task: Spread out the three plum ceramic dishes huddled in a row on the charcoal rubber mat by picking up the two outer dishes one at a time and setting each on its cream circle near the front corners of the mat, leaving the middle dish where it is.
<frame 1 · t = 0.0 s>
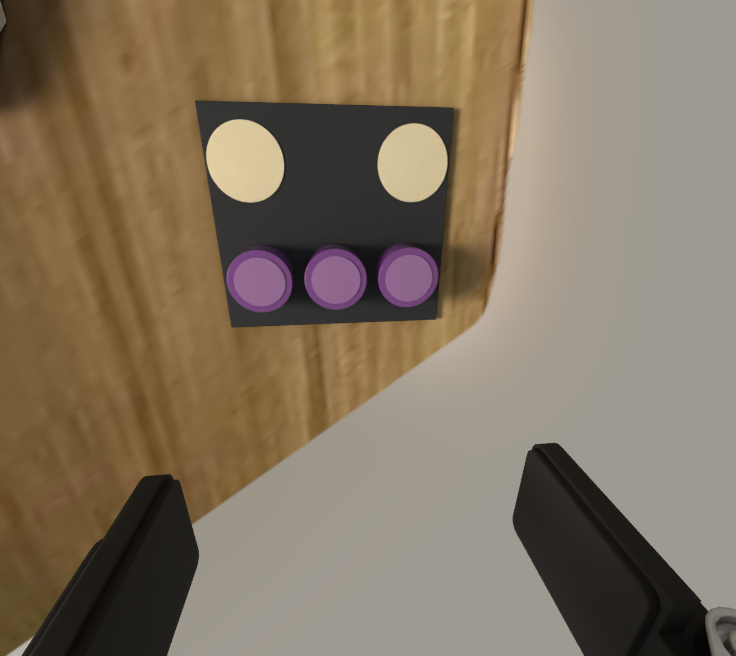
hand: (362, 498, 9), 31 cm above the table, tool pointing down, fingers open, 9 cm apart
dish c: (335, 273, 38), resting on mat
dish b: (402, 271, 39), resting on mat
dish a: (265, 274, 37), resting on mat
mat: (333, 226, 36), on the table
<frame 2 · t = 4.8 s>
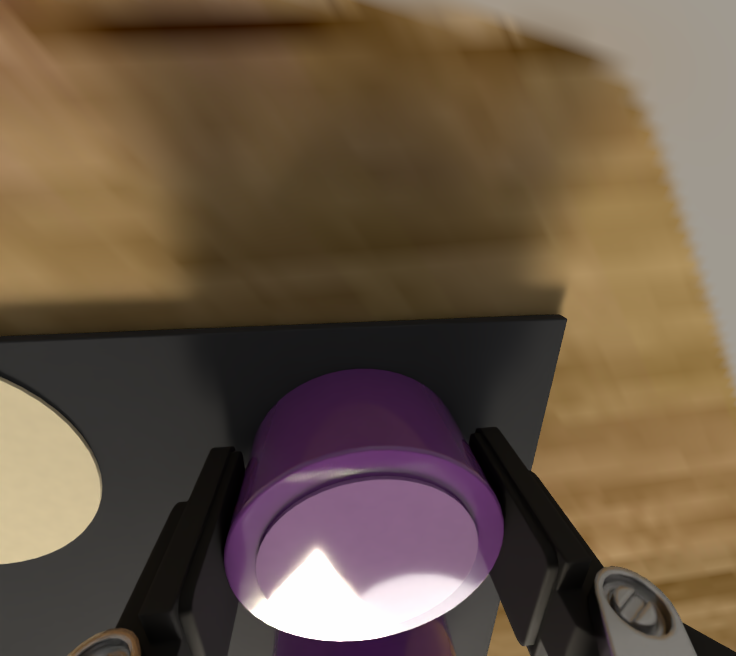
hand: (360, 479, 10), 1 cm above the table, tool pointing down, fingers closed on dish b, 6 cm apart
dish c: (359, 606, 14), resting on mat
dish b: (358, 457, 11), resting on mat, touching gripper
mat: (231, 611, 13), on the table
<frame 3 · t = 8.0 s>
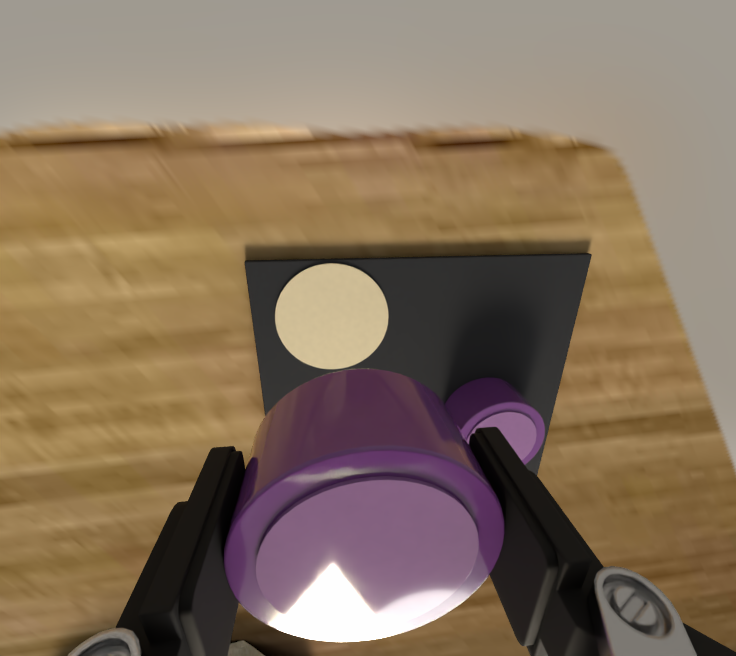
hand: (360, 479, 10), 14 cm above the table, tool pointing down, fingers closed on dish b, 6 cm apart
dish c: (480, 413, 26), resting on mat
dish b: (358, 457, 11), point 13 cm above the table, touching gripper
mat: (415, 414, 26), on the table
when the fingers open (1 cm above the table, at t = 11.3 s): dish b stays where it is, resting on mat.
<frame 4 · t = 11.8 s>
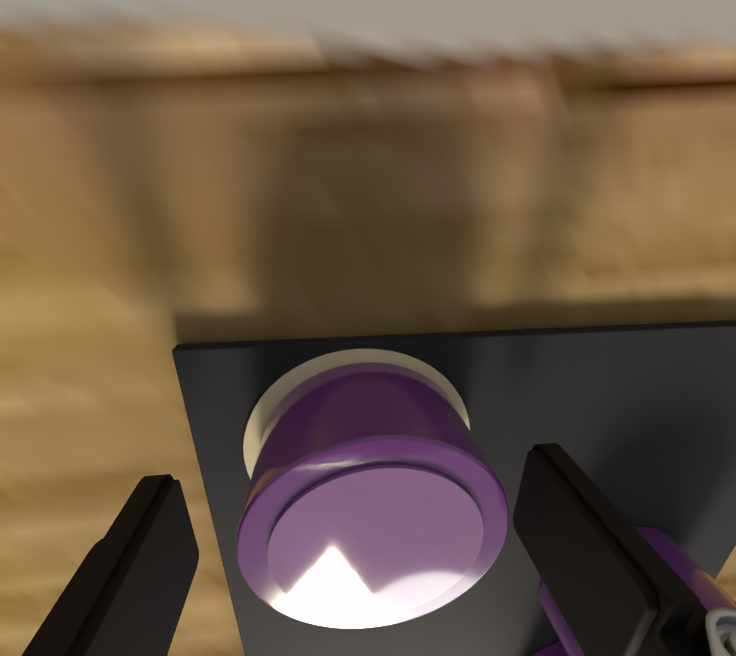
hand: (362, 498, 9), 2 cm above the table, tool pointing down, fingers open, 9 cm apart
dish c: (607, 575, 15), resting on mat
dish b: (364, 450, 11), resting on mat
mat: (496, 579, 15), on the table
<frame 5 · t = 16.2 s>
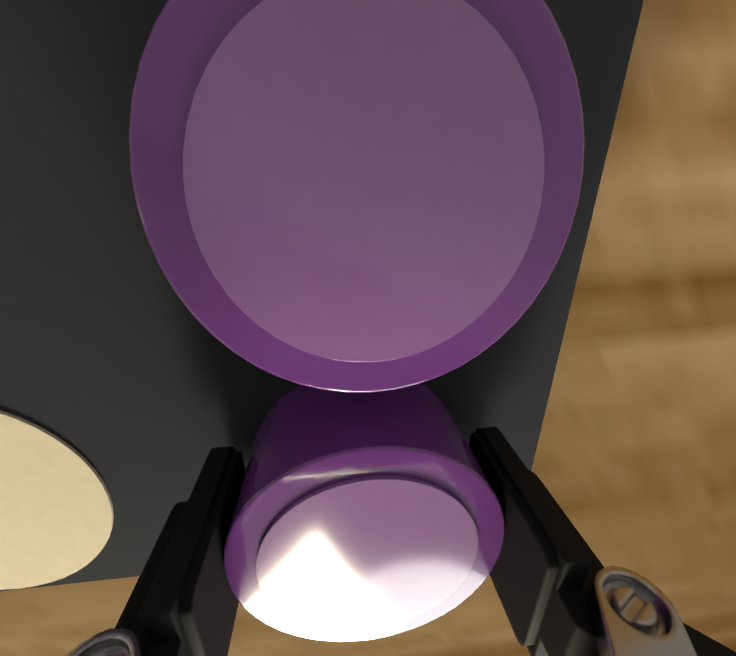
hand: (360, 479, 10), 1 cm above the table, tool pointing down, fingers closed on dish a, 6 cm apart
dish c: (355, 197, 8), resting on mat
dish a: (358, 457, 11), resting on mat, touching gripper
mat: (130, 197, 8), on the table
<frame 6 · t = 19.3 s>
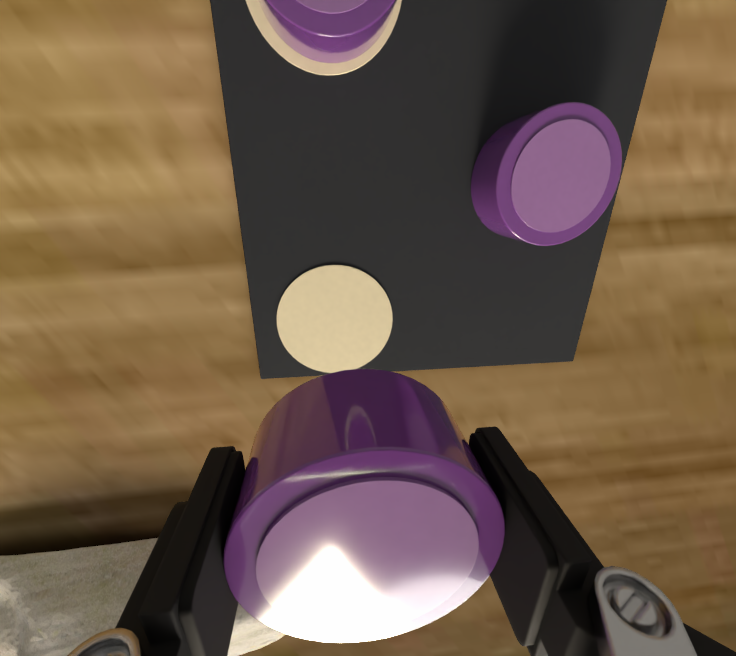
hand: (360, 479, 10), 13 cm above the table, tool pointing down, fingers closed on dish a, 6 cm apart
dish c: (524, 180, 20), resting on mat
stone: (144, 587, 29), on the table
dish a: (358, 458, 11), point 12 cm above the table, touching gripper
mat: (437, 179, 19), on the table
when the fingers open (1 cm above the table, at t = 22.4 s): dish a stays where it is, resting on mat.
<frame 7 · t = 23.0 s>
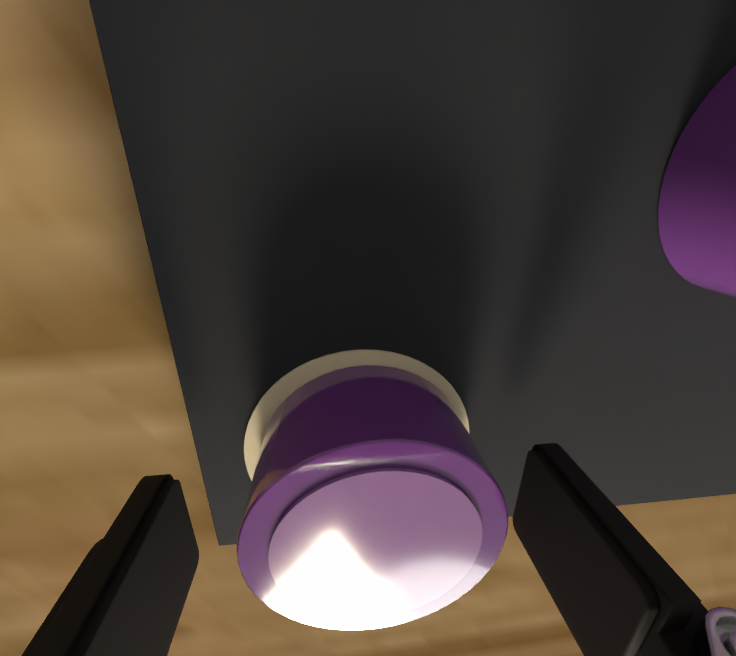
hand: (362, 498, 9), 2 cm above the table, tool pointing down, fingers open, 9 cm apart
dish a: (364, 452, 11), resting on mat
mat: (586, 172, 9), on the table
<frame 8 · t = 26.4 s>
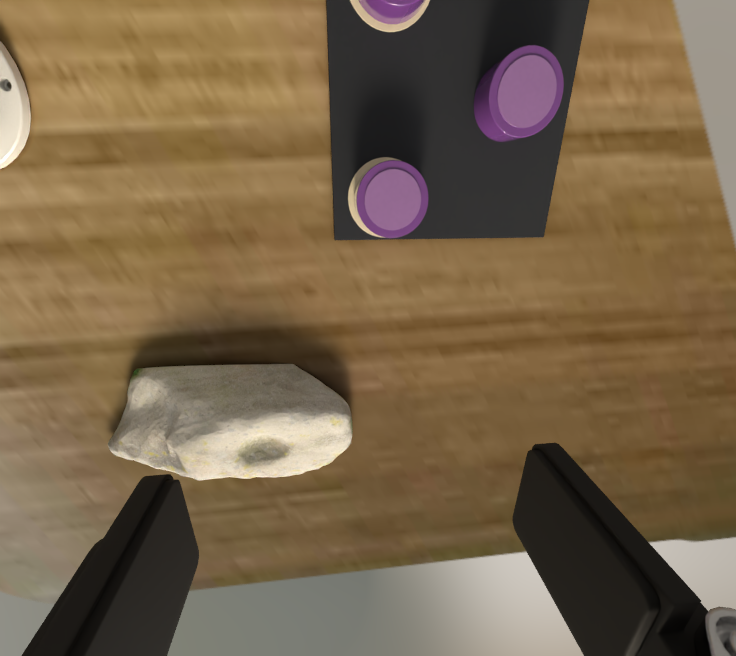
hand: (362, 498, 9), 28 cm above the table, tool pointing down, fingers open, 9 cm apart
dish c: (507, 102, 31), resting on mat
stone: (239, 412, 41), on the table
dish a: (386, 199, 33), resting on mat
mat: (452, 101, 31), on the table
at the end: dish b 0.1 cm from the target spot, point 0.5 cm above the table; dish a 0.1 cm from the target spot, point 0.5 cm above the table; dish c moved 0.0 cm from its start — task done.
